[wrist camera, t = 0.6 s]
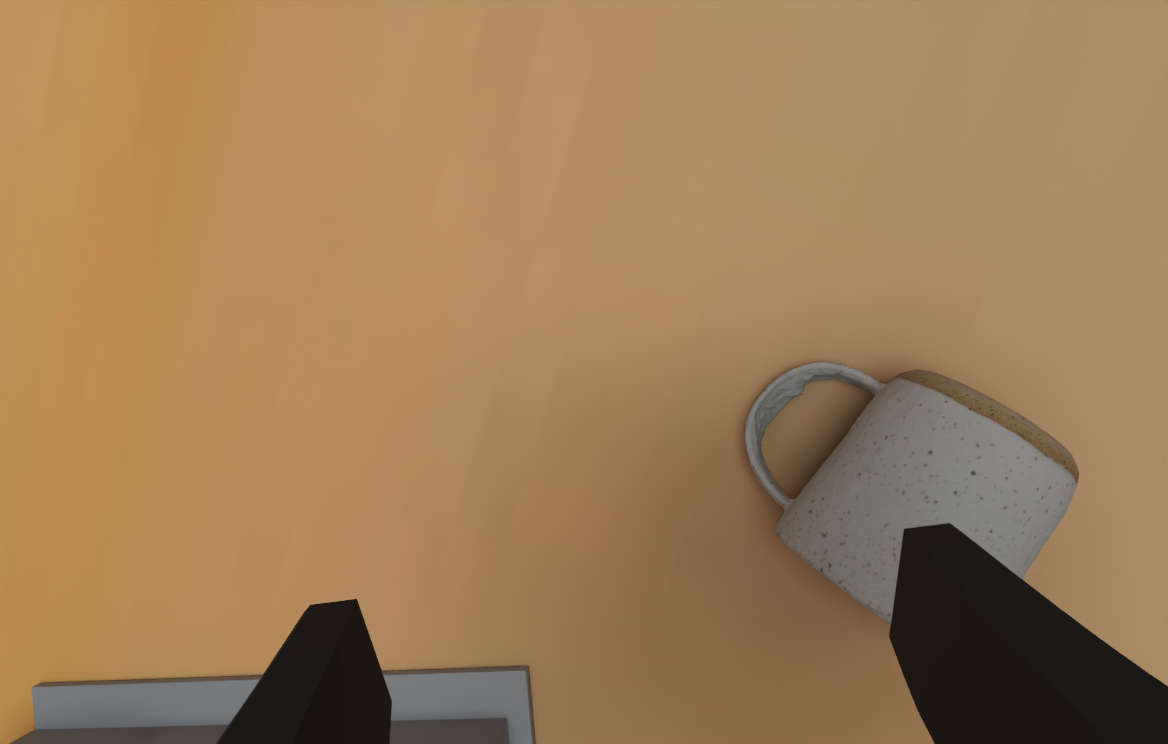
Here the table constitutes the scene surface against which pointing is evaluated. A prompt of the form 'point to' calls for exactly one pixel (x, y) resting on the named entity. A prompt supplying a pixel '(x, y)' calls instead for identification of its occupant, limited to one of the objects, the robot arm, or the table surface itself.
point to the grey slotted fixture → (207, 705)
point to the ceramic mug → (915, 478)
